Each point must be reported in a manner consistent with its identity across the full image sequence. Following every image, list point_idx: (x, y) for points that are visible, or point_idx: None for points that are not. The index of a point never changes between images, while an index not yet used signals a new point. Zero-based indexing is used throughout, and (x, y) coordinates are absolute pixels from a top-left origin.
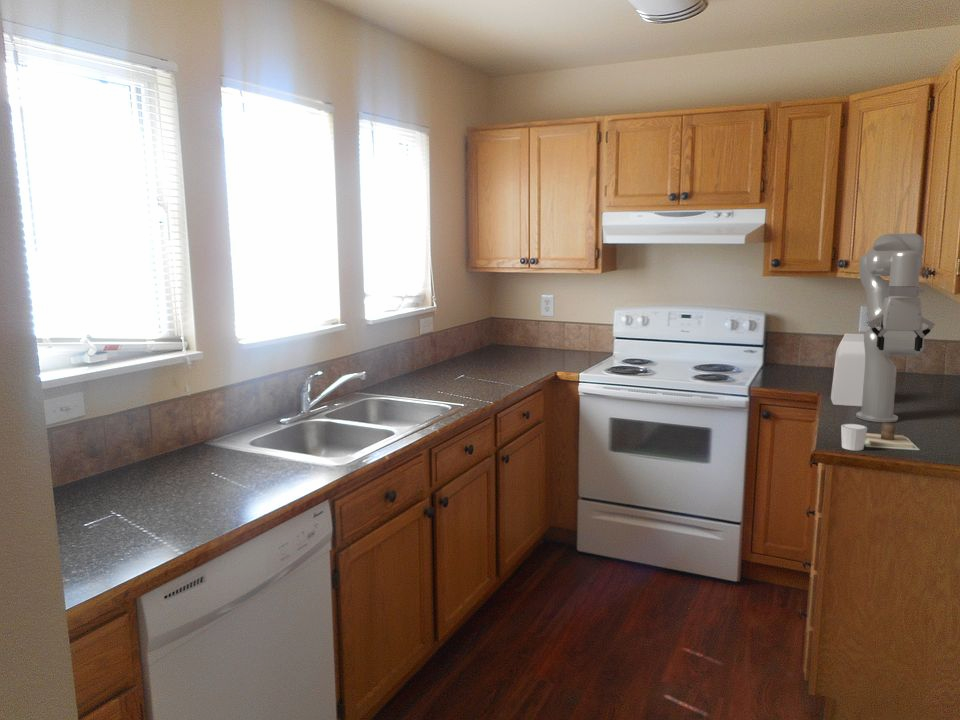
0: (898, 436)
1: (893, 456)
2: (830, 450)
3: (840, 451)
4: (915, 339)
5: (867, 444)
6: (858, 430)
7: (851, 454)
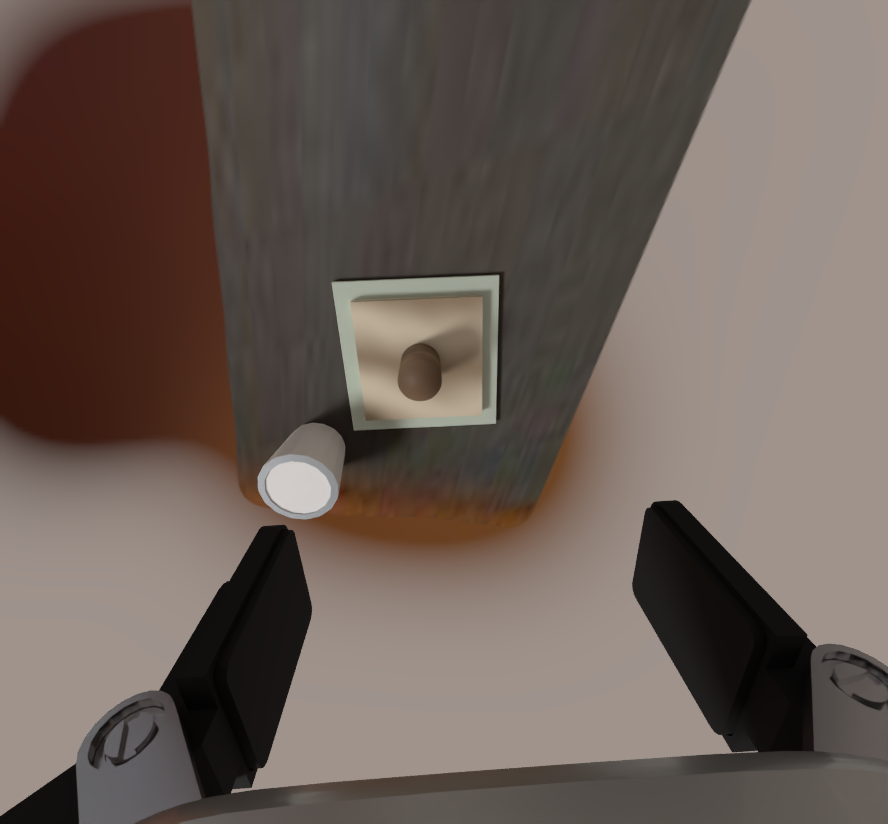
0: (462, 320)
1: (416, 481)
2: None
3: None
4: (728, 623)
5: (359, 405)
6: (312, 515)
7: None
